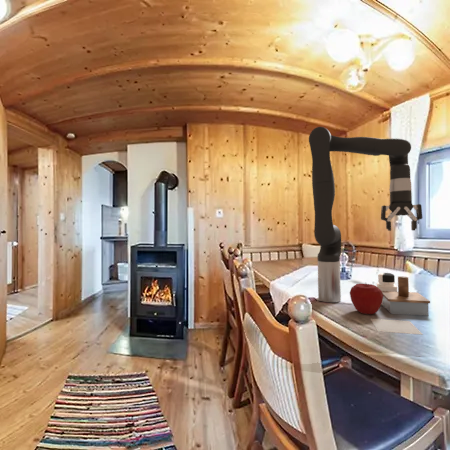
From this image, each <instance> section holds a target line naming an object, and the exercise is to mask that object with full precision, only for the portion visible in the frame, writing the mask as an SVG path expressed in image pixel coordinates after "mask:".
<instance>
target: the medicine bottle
mask: <svg viewBox="0 0 450 450" xmlns="http://www.w3.org/2000/svg"><path fill="white" fill-rule="evenodd" d="M395 276H396V275H394V274H393V273H392V272H391V273H390V272H380V273H378V274H377V278H378V279H377V280H378V281H377V283H376V286H377V287H378V288H379V289H380V290H381V291H392V292H398V286H397V285H396V283H395V278H396V277H395ZM381 304H383V299H382V303H381Z"/></svg>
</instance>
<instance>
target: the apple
mask: <svg viewBox="0 0 450 450" xmlns="http://www.w3.org/2000/svg"><path fill="white" fill-rule="evenodd" d="M349 297H350V301H351V303H352V305H353V307H354V308H355V310H357V312H358V313H360V314H363V315H367V316H368V315H374V314H376V313H378V311H379V309H380V307H381V306H382V304H383V303H382V299H383V294H382V291H381V290H380V289H379V288H378V287H377V285H376V284H375V285H374V284H371V283H370V284H369V283H356V284H355V285H353V286H351V287H350V291H349Z"/></svg>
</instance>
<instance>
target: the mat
mask: <svg viewBox="0 0 450 450" xmlns="http://www.w3.org/2000/svg"><path fill="white" fill-rule="evenodd" d="M370 322H372V323H371V324H372V325H373V327H374V328H375V329H376V331H377V332H379V333H380V332H384V333H394V334H395V333H396V334H411V335H424V334H423V333H422V332H421V331H420V330H419V329H418V328H417V326H415V325H414V324H413V323H412V322H411V321H410V320H397V319H381V318H370Z"/></svg>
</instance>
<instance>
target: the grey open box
mask: <svg viewBox="0 0 450 450" xmlns="http://www.w3.org/2000/svg"><path fill="white" fill-rule="evenodd" d="M382 307H383V308H384V309H386V310H387V311H388V313H390V314H392V315H393V314H395V315H409V316H411V315H412V316H429V315H430V313H429V303H411V302H390V301H388V300H387V299H386V298H385V297H384V296H383V303H382Z"/></svg>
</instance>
